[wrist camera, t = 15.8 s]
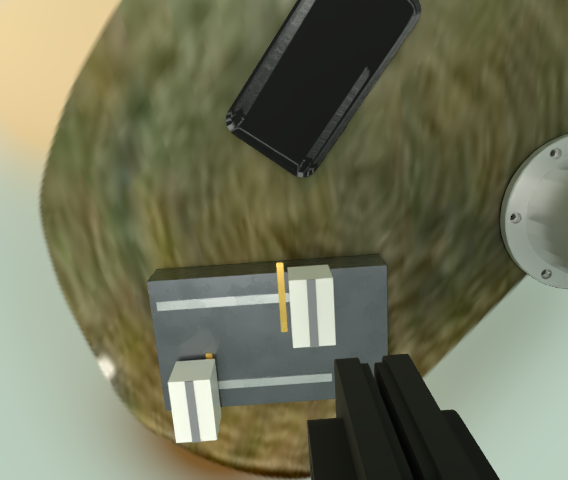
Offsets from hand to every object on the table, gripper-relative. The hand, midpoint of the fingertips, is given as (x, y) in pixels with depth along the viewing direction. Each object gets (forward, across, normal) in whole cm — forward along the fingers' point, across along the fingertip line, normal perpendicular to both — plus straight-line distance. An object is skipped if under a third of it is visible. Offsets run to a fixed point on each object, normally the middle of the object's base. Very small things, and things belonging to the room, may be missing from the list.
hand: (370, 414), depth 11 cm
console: (+27, +3, +10) cm, 29 cm away
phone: (+28, -2, -10) cm, 30 cm away
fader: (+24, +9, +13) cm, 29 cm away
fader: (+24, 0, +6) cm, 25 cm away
